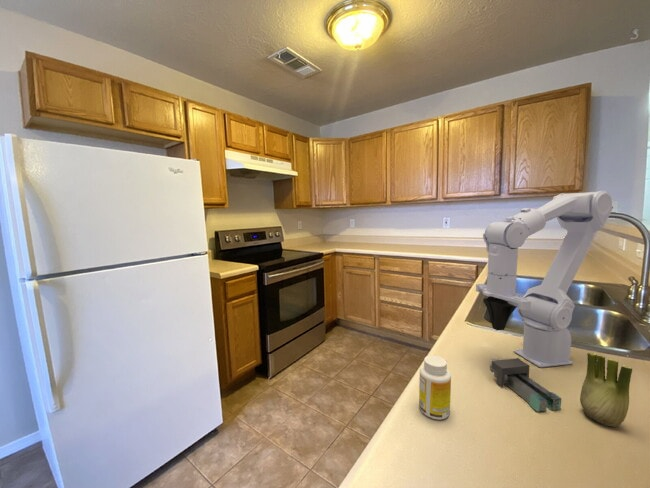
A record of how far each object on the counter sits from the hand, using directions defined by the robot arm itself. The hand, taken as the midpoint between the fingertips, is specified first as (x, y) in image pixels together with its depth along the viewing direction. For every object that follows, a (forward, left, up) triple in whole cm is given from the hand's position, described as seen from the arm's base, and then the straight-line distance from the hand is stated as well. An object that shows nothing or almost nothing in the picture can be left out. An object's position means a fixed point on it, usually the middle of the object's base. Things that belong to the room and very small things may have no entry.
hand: (498, 328), depth 66 cm
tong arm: (+3, +9, -10) cm, 13 cm away
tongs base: (0, +7, -10) cm, 12 cm away
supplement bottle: (+22, +11, -10) cm, 27 cm away
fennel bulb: (-6, +18, -10) cm, 22 cm away
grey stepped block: (+1, +6, -10) cm, 12 cm away
